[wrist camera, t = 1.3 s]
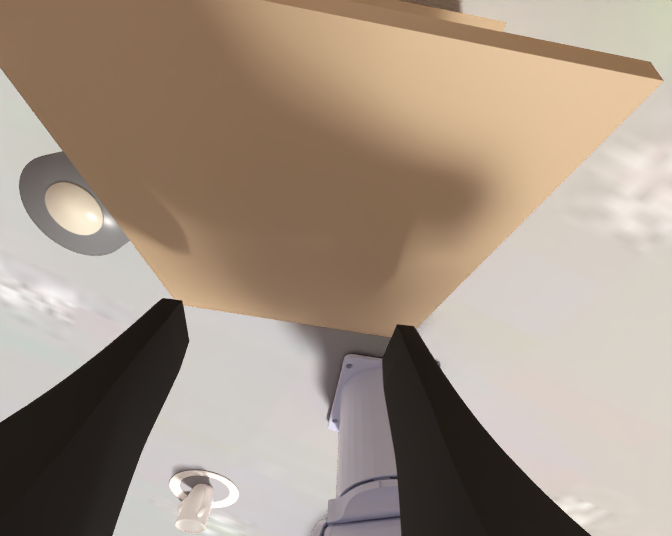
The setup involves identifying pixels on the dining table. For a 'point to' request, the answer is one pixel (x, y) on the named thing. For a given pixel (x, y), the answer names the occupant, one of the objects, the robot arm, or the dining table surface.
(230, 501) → the teacup and saucer
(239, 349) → the dining table surface
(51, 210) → the dimpled grey cylinder
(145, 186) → the box lid
